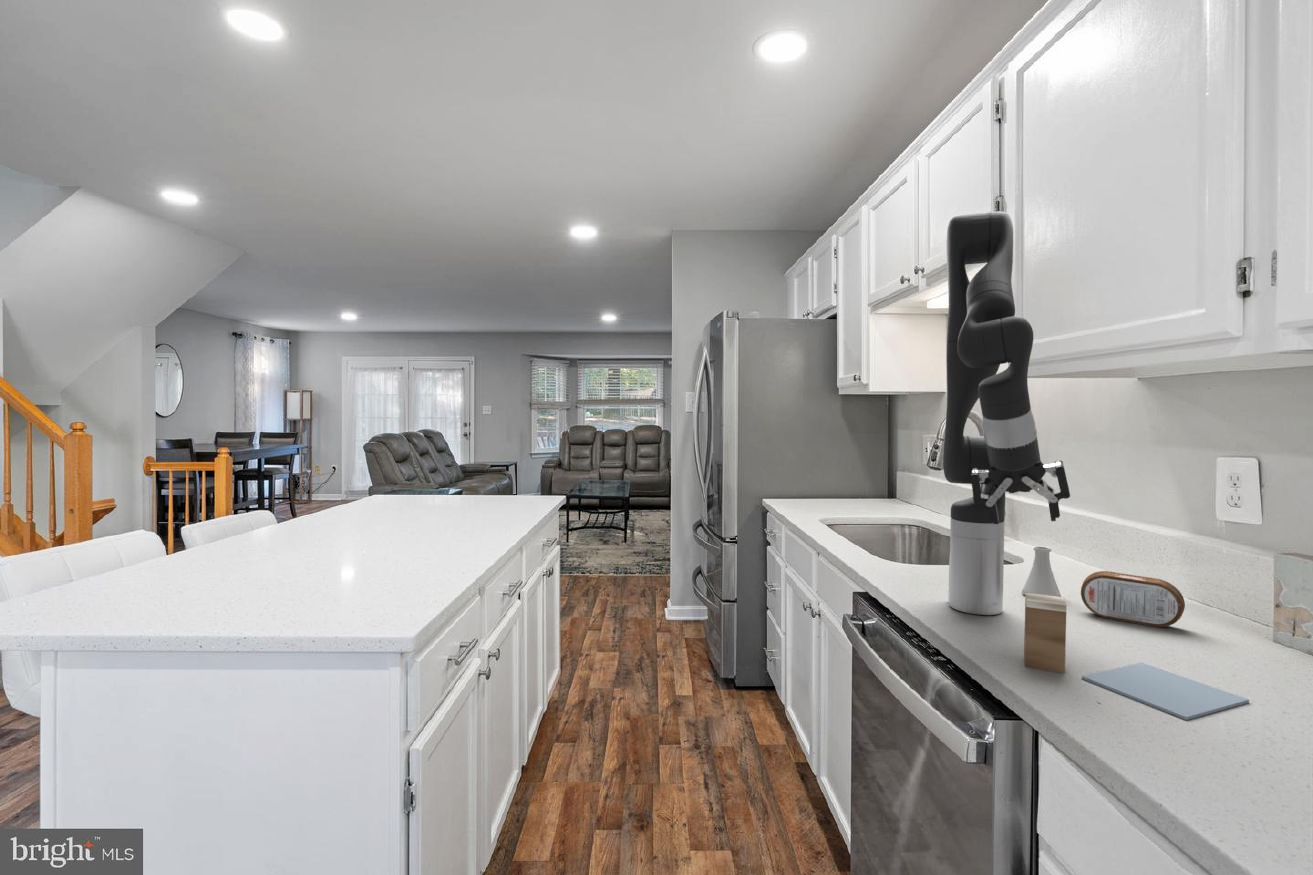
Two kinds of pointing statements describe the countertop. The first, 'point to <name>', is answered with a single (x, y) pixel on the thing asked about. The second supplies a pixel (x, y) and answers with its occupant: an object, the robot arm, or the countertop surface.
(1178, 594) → the tin
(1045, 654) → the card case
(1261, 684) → the countertop surface
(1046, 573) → the flask
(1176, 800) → the countertop surface
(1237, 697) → the mat
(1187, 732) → the countertop surface
